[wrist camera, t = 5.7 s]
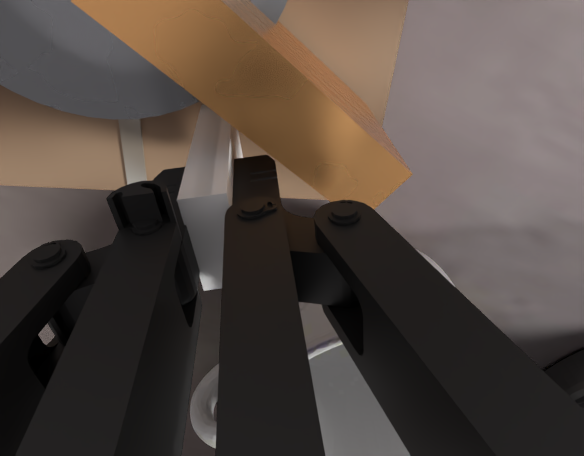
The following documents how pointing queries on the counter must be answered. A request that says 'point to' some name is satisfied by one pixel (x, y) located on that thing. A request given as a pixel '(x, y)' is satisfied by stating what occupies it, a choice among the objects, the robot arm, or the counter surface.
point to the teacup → (323, 395)
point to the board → (194, 109)
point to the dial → (202, 80)
